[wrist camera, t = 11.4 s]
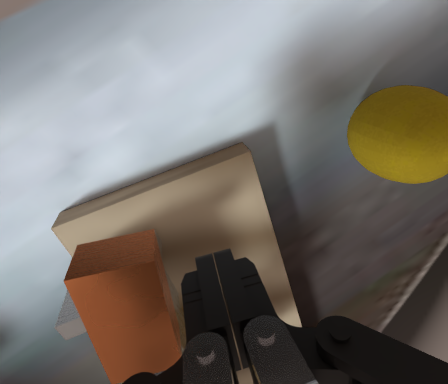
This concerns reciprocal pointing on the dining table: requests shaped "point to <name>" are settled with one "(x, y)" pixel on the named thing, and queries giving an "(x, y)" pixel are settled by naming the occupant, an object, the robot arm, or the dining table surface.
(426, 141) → the lemon
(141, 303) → the valve lever
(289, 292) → the valve board
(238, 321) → the robot arm
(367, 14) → the dining table surface
